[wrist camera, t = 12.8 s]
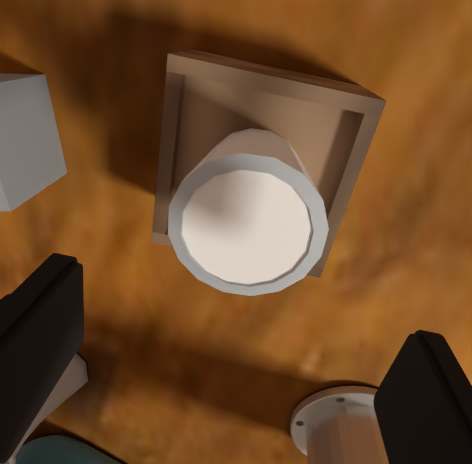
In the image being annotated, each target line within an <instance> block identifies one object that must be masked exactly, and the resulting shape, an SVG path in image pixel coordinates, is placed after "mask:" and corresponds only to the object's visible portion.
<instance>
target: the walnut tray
mask: <svg viewBox="0 0 472 464" xmlns="http://www.w3.org/2000/svg"><path fill="white" fill-rule="evenodd" d="M385 103H386V100H384V99H382V98H381V97H379V96H377V95H376V94H374V93H372V92H371V91H369V90H367V89H365V88H364V87H362V86H360V85H355V84H351V83H346V82H342V81H337V80H332V79H328V78H323V77H319V76H314V75H309V74H305V73H300V72H296V71H291V70H286V69H282V68H277V67H273V66H268V65H263V64H259V63H254V62H249V61H245V60H240V59H236V58H231V57H226V56H222V55H217V54H213V53H208V52H203V51H199V50H194V49H189V50H184V51H178V52H173V53H168V57H167V69H166V80H165V91H164V103H163V114H162V126H161V137H160V149H159V160H158V171H157V183H156V194H155V206H154V217H153V229H152V240H151V242H152V243H156V244H161V245H166V246H171V247H173V245H172V243H171V240H170V238H169V235H168V216H169V205H170V203H171V201H172V199H173V197H174V195H175V194H176V192H177V190H178V188H179V186H180V184H181V182H182V180H183V179H184V178H185V177H186V176H187V175H188V174H189V173H190V172H191V171H192V170H193V169H194V168H195V167H196V166H197V165H198V164H199V163H200V162H201V161H202V160H203V159H204V158H205V157H206V156H207V155H208V153H209V152H210V151H211V150H212V149H213V148H214V147H215V146H216V145H217V144H219V143H220V142H221V141H222V140H224V139H225V138H226V137H228V136H229V135H230V134H231V133H234V132H238V131H242V130H246V129H249V128H253V129H261V130H268V131H271V132H273V133H275V134H277V135H278V136H280V137H282V138H283V139H285V140H287V141H288V143H289V144H290V145H291V147H292V148H293V150H294V151H295V152H296V154H297V155H298V157H299V158H300V160H301V162H302V164H303V166H304V167H305V169H306V171H307V173H308V174H309V176H310V178H311V180H312V181H313V183H314V185H315V187H316V188H317V190H318V192H319V194H320V195H321V197H322V199H323V201H324V206H325V212H326V217H327V222H328V228H329V231H328V234H327V238H326V242H325V245H324V249H323V253H322V256H321V258H320V259H319V260H318V261H317V262H316V264H315V265H314V266H313V267H312V268H311V270H310V271H309V272H308V273H307V275H310V276H315V277H319V278H320V276H321V273H322V271H323V268H324V265H325V263H326V260H327V257H328V255H329V252H330V249H331V247H332V244H333V241H334V239H335V236H336V233H337V231H338V228H339V226H340V223H341V220H342V218H343V215H344V212H345V210H346V207H347V204H348V202H349V199H350V196H351V194H352V191H353V188H354V186H355V183H356V180H357V178H358V175H359V172H360V170H361V167H362V164H363V162H364V159H365V156H366V154H367V151H368V148H369V146H370V143H371V140H372V138H373V135H374V133H375V130H376V127H377V125H378V122H379V119H380V117H381V114H382V111H383V109H384V106H385Z"/></svg>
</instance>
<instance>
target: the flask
mask: <svg viewBox="0 0 472 464" xmlns="http://www.w3.org/2000/svg"><path fill="white" fill-rule="evenodd" d="M87 381H88V377H87V368H86V362H85V361H84V360H83V359H82V358H81V357H80V356H79V355H78V354H77V353H76V354H75V355H74V357H73V358H72V360H71V362H70V363H69V365H68V366H67V368H66V370H65V371H64V373H63V374H62V376H61V378H60V379H59V381H58V382H57V384H56V386H55V387H54V389H53V390H52V392H51V394H50V395H49V397H48V398H47V400H46V402H45V403H44V405H43V406H42V408H41V410H40V411H39V413H38V414H37V416H36V418H35V419H34V421H33V422H32V424H31V426H30V427H29V429H28V430H27V432H26V434H25V435H24V437H23V438H22V440H21V442H20V443H19V445H18V446H17V448H16V450H15V451H14V453H13V454H12V456H11V457H10V459H9V460H8V461H7V462H6V463H4V464H15V463H16V458H15V457H16V454H17V453H18V451H19V449H20V448H21V446H22V445H23V443H24V441H25V440H26V439H27V438H28V437H29V435H30V434H31V433H32V432H33V431H34V430H35V428H36V427H37V426H38V425H39V424H40V423H41V422H42V421H43V420H44V419H45V418H46V417H47V416H49V415H50V414H51V413H52V412H53V411H54V410H55V409H56V408H57V407H59V406H60V405H61V404H62V403H63V402H64V401H65V400H67V399H68V398H69V397H70V396H71V395H72V394H74V393H75V392H76V391H77V390H78V389H80V388H81V387H82V386H83V385H84V384H85V383H86V382H87ZM0 464H1V463H0Z"/></svg>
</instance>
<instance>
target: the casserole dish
mask: <svg viewBox="0 0 472 464" xmlns="http://www.w3.org/2000/svg"><path fill="white" fill-rule="evenodd" d="M15 458H16V463H15V464H121V463H120V462H118V461H116V460H114V459H112V458H111V457H109V456H107V455H105V454H103V453H102V452H100V451H98V450H96V449H94V448H93V447H91V446H89V445H87V444H85V443H82V442H80V441H78V440H75V439H72V438H69V437H66V436H61V435H51V436H46V437H41V438H38V439H35V440H32V441H30V442H28V443H27V444H25V445H23V446H22V447H21V448H20V449H19V451H18V453H17V454H16V457H15Z"/></svg>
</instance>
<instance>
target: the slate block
mask: <svg viewBox="0 0 472 464" xmlns="http://www.w3.org/2000/svg"><path fill="white" fill-rule="evenodd" d="M66 173H67V170H66V166H65V161H64V157H63V152H62V148H61V143H60V139H59V134H58V130H57V125H56V121H55V116H54V112H53V107H52V103H51V98H50V94H49V89H48V85H47V80H46V76H45V74H8V73H0V211H9V212H11V211H12V210H14V209H15V208H17V207H18V206H19V205H21V204H22V203H24V202H25V201H27V200H28V199H30V198H31V197H33V196H34V195H36V194H37V193H39V192H40V191H41V190H43V189H44V188H46V187H47V186H49V185H50V184H52V183H53V182H55V181H56V180H58V179H59V178H61V177H62V176H64V175H65V174H66Z"/></svg>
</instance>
